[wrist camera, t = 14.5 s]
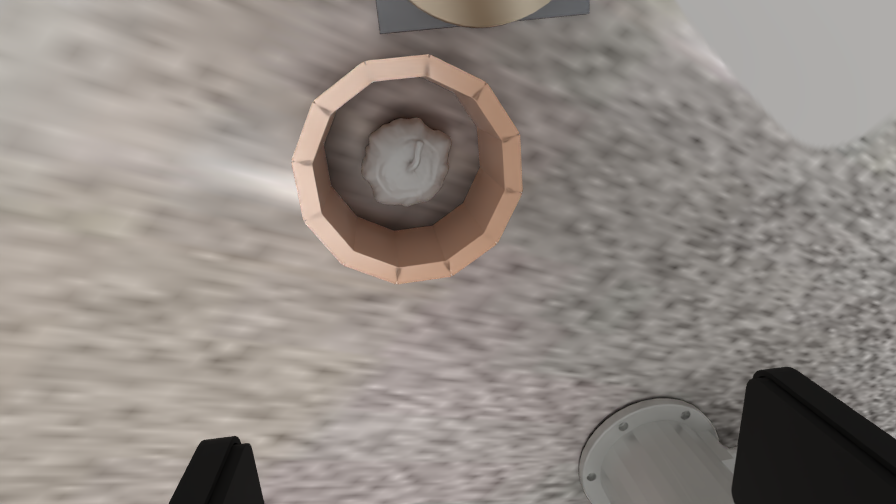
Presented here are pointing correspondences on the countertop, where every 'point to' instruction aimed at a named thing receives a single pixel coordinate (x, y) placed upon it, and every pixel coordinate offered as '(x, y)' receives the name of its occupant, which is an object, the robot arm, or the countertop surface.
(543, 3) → the lid
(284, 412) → the countertop surface
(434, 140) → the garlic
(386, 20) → the mat
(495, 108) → the bowl
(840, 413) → the robot arm
